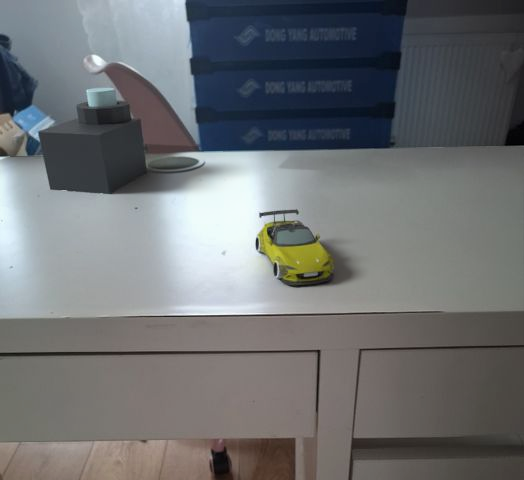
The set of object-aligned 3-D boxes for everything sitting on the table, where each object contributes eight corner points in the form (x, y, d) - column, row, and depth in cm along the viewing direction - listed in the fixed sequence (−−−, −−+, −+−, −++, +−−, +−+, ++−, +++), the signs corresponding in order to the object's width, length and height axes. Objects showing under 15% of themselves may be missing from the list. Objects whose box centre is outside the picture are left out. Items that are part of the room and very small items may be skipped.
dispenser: (109, 194, 65) (97, 116, 60) (50, 189, 67) (33, 114, 62) (151, 170, 74) (144, 101, 70) (98, 166, 76) (87, 99, 71)
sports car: (280, 289, 43) (280, 253, 41) (251, 243, 51) (250, 211, 50) (341, 282, 44) (344, 246, 42) (303, 238, 52) (304, 206, 51)
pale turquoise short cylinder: (109, 110, 66) (106, 91, 65) (83, 109, 67) (80, 90, 66) (122, 105, 69) (120, 87, 68) (98, 105, 70) (95, 87, 69)
